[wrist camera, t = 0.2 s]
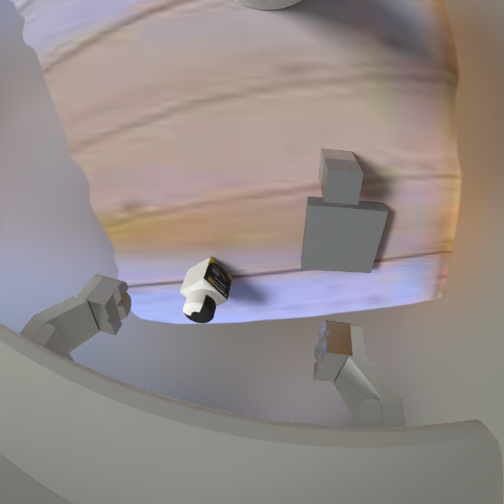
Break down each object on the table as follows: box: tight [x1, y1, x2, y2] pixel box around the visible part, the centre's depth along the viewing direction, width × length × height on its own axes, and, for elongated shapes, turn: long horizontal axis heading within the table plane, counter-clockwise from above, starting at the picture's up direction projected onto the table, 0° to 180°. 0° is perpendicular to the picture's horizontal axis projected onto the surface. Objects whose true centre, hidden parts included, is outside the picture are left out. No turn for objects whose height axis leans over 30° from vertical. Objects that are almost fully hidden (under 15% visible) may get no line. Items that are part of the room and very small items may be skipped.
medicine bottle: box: [180, 257, 232, 323], centre depth 59 cm, size 7×7×12 cm
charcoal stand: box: [301, 197, 388, 273], centre depth 52 cm, size 14×14×3 cm
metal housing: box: [319, 148, 364, 205], centre depth 42 cm, size 5×5×9 cm
